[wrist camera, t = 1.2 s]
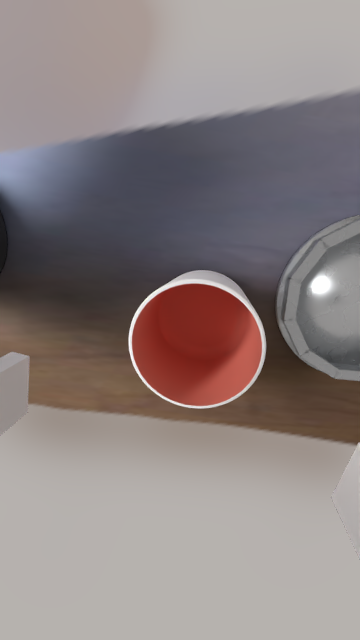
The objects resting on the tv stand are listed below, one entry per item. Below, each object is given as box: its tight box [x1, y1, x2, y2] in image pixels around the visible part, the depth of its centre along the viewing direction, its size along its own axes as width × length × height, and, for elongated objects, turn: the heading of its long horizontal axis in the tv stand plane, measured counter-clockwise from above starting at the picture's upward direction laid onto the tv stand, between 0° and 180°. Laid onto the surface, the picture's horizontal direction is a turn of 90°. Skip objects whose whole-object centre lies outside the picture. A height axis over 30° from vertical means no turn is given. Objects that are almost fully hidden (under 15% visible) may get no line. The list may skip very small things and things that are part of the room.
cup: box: [129, 270, 266, 408], centre depth 23 cm, size 10×10×10 cm
